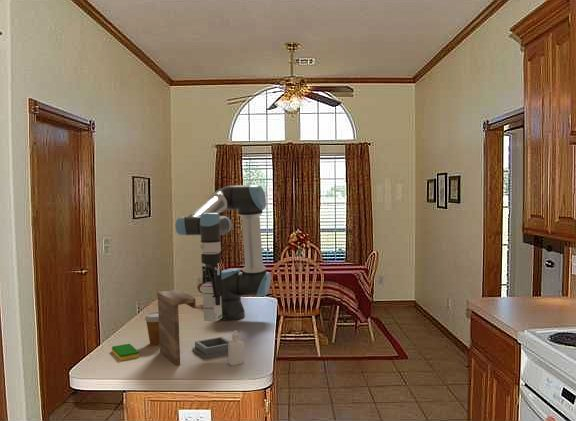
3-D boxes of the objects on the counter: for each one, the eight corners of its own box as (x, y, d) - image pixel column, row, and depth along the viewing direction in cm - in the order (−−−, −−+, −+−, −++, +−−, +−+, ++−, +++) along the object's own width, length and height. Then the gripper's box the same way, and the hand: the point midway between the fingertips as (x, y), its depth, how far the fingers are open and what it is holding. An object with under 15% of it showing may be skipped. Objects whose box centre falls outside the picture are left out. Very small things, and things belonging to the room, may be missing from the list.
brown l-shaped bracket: (179, 348, 212) (177, 289, 211) (197, 361, 195) (195, 298, 194) (159, 351, 208) (157, 292, 207) (176, 365, 191) (174, 300, 190)
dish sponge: (129, 349, 214) (129, 343, 214) (139, 358, 202) (139, 352, 202) (111, 352, 210) (111, 346, 210) (120, 361, 198) (120, 355, 198)
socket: (222, 344, 216) (222, 335, 215) (236, 352, 204) (236, 343, 204) (192, 349, 209) (192, 341, 209) (204, 358, 198) (204, 349, 198)
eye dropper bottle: (228, 361, 194) (227, 329, 193) (244, 360, 194) (243, 328, 194) (228, 365, 189) (227, 332, 189) (244, 364, 190) (243, 331, 189)
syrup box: (217, 321, 203) (216, 283, 202) (203, 321, 204) (202, 283, 203) (222, 317, 208) (221, 281, 208) (208, 317, 209) (207, 280, 209)
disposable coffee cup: (173, 340, 223) (172, 312, 222) (161, 347, 214) (160, 317, 213) (154, 339, 226) (153, 311, 225) (141, 345, 217) (140, 316, 216)
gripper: (192, 251, 212) (194, 307, 213) (212, 256, 194) (214, 318, 195) (209, 249, 216) (211, 305, 217) (231, 254, 198) (232, 315, 199)
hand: (212, 311), depth 206 cm, fingers closed on syrup box, 8 cm apart
